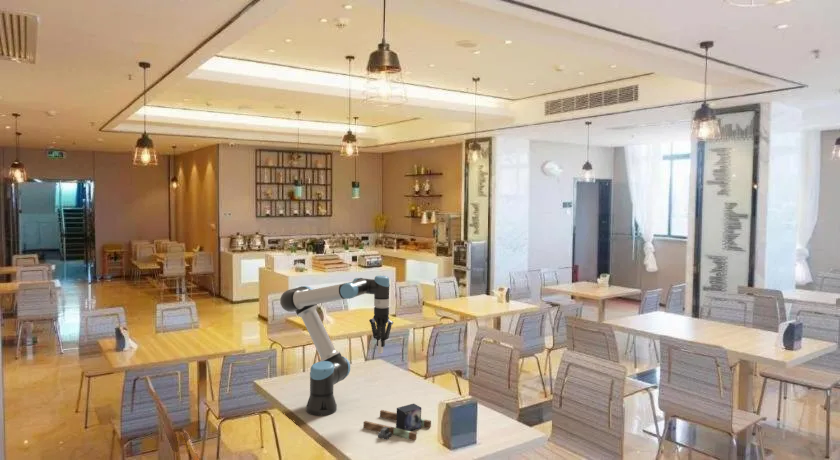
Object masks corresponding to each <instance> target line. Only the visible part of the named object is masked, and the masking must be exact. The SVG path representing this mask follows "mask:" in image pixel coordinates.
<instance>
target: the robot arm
mask: <svg viewBox="0 0 840 460" xmlns="http://www.w3.org/2000/svg"><path fill="white" fill-rule="evenodd" d="M390 286H391V285H390V277H389V276H387V275H376V276H375V277H374V279H373V278H363V277H355V278H354V279H353V280H352V281H349V282H344V283H340V284H335V285H329V286H324V287H319V288H318V287H317V288H314V289H313V288H312V287H310V286H309V285H304V286H299V287H296V288H292V289H290V288H289V289H288V290H285V291H284V292H283V293H282V294H281V297H280V299H279V301H280V303H279V304H280V307H281V308H282V309H283V310H284V311H285V312H288V313H289V312H290V313H292V312H295V314H296V316H297V317H301V320H302V321H303V323H304V326H305V328H306V330H307V332H308V334H309V336H310V338H311V340H312V343H313V345H314V347H315V349H316V351H317V353H318V355H319V358H320V361H317V362H315V363H313V364H312V365H311V366H310V372H309V397H308V400H307V403H306V407H305V408H306V409H305V410H306V413H307V414H310V415H312V416H328V415H331V414H333V413H335V412H336V411H337V410H338V409H337V407H338V406H337V402H336V399H335V396H334V386H335V385H336V384H338V383H339V382H341V381H343V380H345V379H346V378H347V377H348V376H349V374H350V372H351V364H350V363H351V362H350V361H349V359H348V358H347V357H345V356H342V354H341V352H340V351H338V350H336V348H335V346H334V344H333V342H332V340H331V337H330V336H329V334H328V332H327V329H326V327H325V325H324V324H323V321H322V319H321V316H320V315H319V313H318V311H317V308H318V304H323V303H328V302H335V301H340V300H345V299H347V300H348V299H349V300H350V299H354V298H356V297H358V296H362V295H365V294H368V295H374V296H373V297H374V299H373V300H374V301H373V302H374V305H373V306H374V307H373V310H374V311H373V317H372V318H370V319H369V324H370V326H371V332H372V333H371V334H372V336H373V339H375V340H376V347H377V353H378V354H383V353H384V347H385V345H386V341H387V340H388V339H389V338H390V334H391V329H392V326H393V324H394V321H393V320H391V319H390V317H389V314H390V307H389V306H390V288H391V287H390Z"/></svg>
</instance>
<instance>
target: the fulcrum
mask: <svg viewBox="0 0 840 460" xmlns="http://www.w3.org/2000/svg"><path fill="white" fill-rule="evenodd" d="M386 426H387V425H385V427H384V428H382V429H381V431H380V432H377V438H379V439H383V440H389V439H390V438H392V437H393V435H392V432H389V427H386Z"/></svg>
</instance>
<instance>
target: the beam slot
mask: <svg viewBox="0 0 840 460" xmlns="http://www.w3.org/2000/svg"><path fill="white" fill-rule="evenodd" d="M396 416H397V412H394V411H388V410H383V409H381V410H380V411H379V417H381V418H383V419H388V420H393V421H396ZM362 424H363V429H365V430H370V431H373V432H377V433H379V432H380V431H381V429H382V428H384V427H385V426H386V427H389V432H392V436H395V437H398V438H399V437H400V438H402V439H403V438H404V439H407V440H410V441H411V440H412V441H416V440H417V432H415V431H407V430H403V429H398V428H396V427H393V426H389V425H386V424H385V425H384V424H380V423H376V422H372V421H368V420H364V421H363V423H362ZM421 427H424V428H428V429H430V428H431V427H432V420H430V419H425V418H421Z"/></svg>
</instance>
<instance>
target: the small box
mask: <svg viewBox="0 0 840 460" xmlns="http://www.w3.org/2000/svg"><path fill="white" fill-rule="evenodd" d="M396 413H397V416H396V420H395V421H396V422H395V424H396V425H395V428H398V429H403V430H407V431H411V432H415V431H417V430H420V429H422V426H421V419H422V407H421V406H419V405H418V404H416V403H411V404H407V405H404V406H399V407H396Z"/></svg>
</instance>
